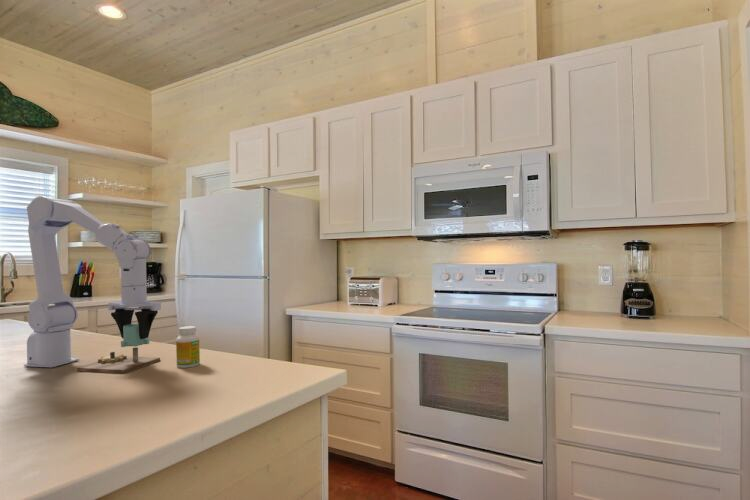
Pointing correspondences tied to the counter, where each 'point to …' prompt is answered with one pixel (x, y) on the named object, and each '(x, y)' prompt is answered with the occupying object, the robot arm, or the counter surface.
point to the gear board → (118, 363)
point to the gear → (132, 336)
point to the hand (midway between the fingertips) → (135, 338)
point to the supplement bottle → (187, 347)
